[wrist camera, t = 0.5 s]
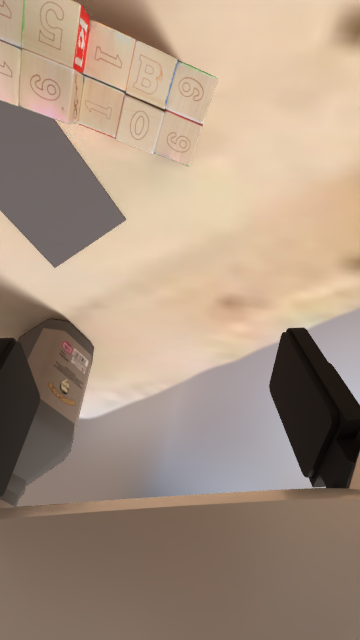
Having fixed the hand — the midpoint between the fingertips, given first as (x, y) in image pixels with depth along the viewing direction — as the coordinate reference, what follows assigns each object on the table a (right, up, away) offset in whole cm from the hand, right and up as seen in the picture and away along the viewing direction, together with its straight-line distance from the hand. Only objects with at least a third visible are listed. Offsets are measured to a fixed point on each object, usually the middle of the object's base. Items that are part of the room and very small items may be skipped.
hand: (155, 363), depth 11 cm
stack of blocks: (-8, +24, +17) cm, 31 cm away
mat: (-16, +19, +20) cm, 32 cm away
